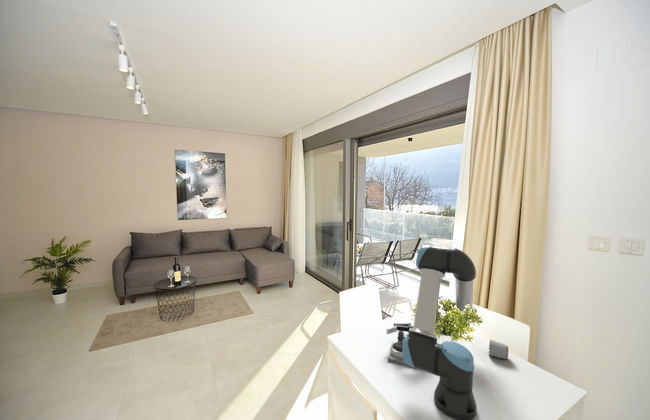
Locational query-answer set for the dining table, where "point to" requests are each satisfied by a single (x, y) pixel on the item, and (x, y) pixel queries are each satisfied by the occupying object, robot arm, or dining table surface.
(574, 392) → the dining table surface
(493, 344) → the grey rounded block
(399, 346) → the dark figurine
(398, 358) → the housing
